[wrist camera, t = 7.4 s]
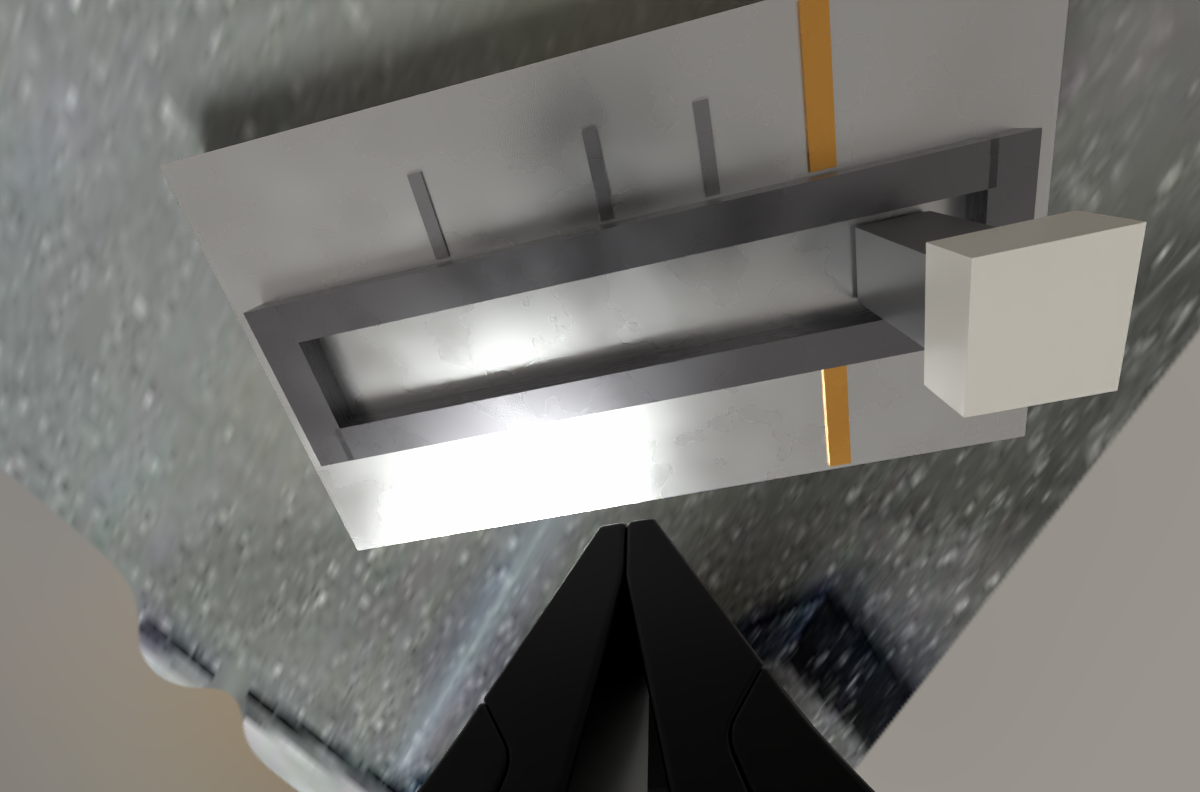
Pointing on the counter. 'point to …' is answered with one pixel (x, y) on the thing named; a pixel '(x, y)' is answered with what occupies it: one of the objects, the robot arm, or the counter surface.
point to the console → (626, 258)
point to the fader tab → (1006, 302)
